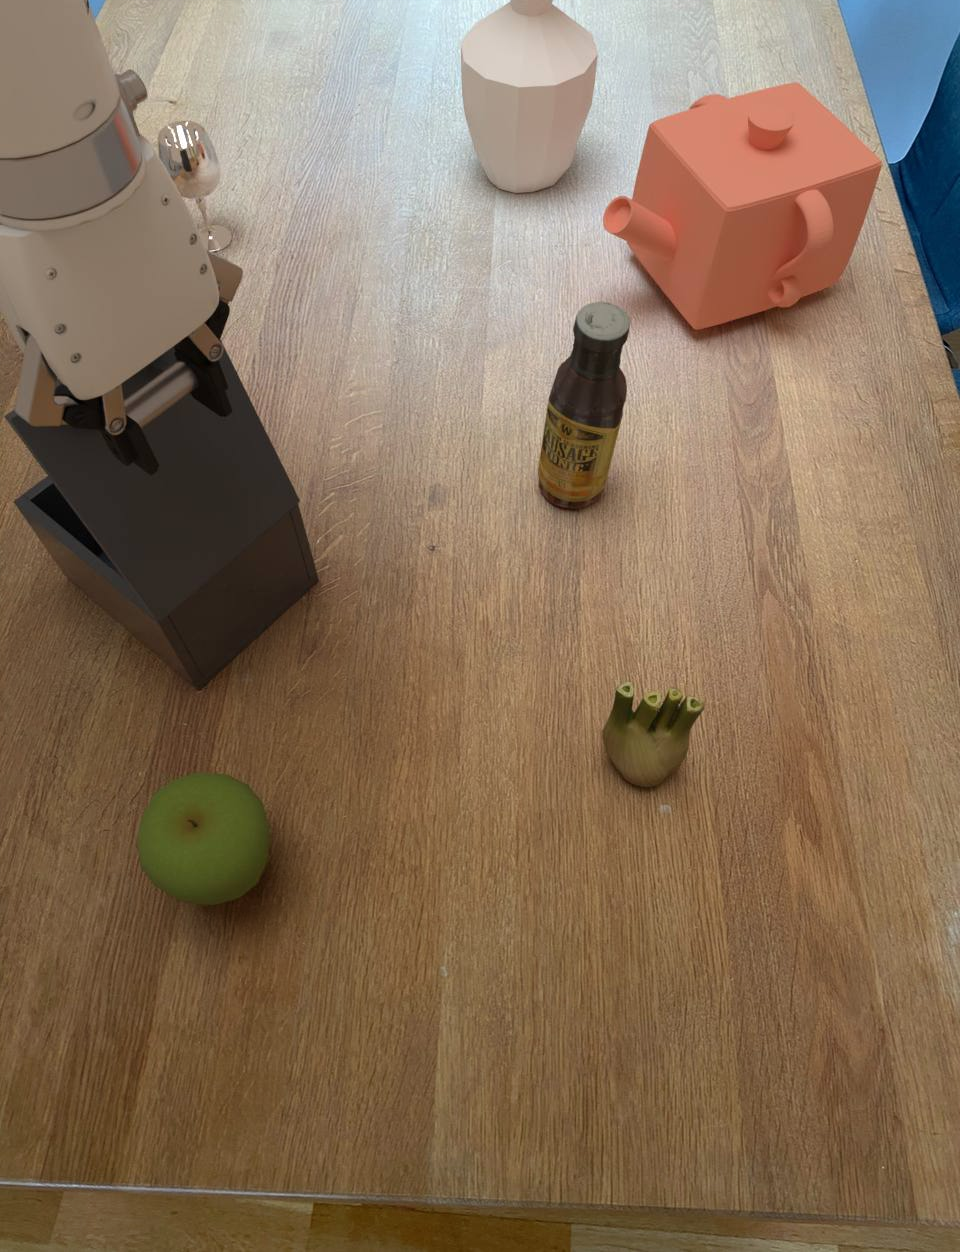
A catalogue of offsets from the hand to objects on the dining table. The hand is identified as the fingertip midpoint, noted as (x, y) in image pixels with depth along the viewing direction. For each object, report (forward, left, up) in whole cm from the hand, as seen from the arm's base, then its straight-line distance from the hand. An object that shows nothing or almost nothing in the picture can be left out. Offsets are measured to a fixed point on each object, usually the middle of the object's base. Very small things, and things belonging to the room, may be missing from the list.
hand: (176, 430), depth 57 cm
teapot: (+5, +59, -25) cm, 64 cm away
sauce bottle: (+11, +29, -25) cm, 40 cm away
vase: (-21, +62, -25) cm, 70 cm away
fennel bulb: (+31, +11, -25) cm, 41 cm away
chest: (-8, 0, -25) cm, 26 cm away
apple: (+13, -15, -25) cm, 32 cm away
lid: (-3, 0, -5) cm, 6 cm away
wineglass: (-40, +31, -25) cm, 57 cm away
